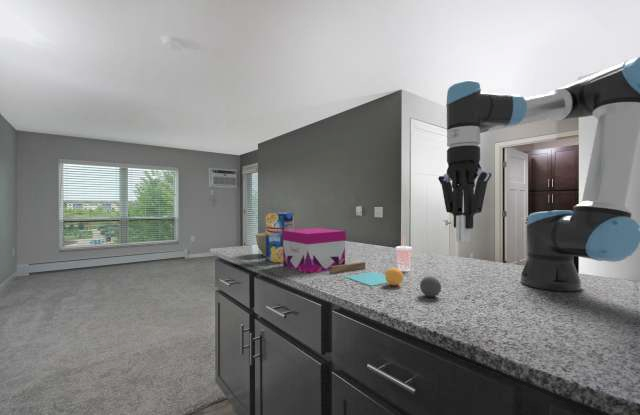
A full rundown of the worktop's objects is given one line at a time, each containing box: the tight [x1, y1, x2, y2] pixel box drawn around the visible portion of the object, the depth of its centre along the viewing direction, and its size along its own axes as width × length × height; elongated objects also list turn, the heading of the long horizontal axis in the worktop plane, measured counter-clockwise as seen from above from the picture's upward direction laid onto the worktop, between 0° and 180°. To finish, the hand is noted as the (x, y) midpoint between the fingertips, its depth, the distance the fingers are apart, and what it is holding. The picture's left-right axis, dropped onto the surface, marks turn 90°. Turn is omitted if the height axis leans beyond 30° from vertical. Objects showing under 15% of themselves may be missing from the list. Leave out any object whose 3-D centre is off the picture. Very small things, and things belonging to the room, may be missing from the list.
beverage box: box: [265, 212, 295, 264], centre depth 139 cm, size 7×11×22 cm, turn 57°
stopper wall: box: [329, 261, 366, 275], centre depth 118 cm, size 1×16×2 cm, turn 121°
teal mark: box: [345, 271, 389, 287], centre depth 106 cm, size 14×14×1 cm
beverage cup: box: [395, 233, 413, 272], centre depth 119 cm, size 6×6×14 cm
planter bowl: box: [255, 232, 266, 257], centre depth 156 cm, size 16×16×11 cm
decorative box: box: [282, 227, 347, 274], centre depth 127 cm, size 19×19×15 cm
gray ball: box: [419, 276, 442, 298], centre depth 85 cm, size 6×6×6 cm
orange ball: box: [384, 267, 404, 287], centre depth 97 cm, size 6×6×6 cm
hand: (463, 241), depth 76 cm, fingers closed
